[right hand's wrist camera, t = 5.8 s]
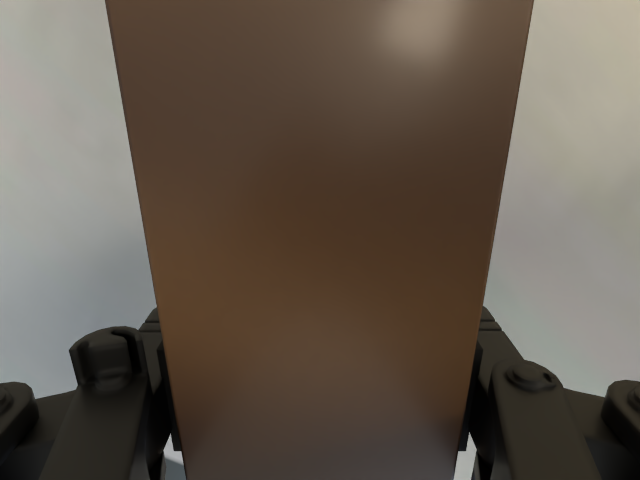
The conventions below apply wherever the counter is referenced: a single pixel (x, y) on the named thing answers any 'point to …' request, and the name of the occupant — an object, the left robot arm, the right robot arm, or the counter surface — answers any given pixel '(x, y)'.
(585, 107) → the counter surface
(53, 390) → the counter surface
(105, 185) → the counter surface
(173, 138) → the post
